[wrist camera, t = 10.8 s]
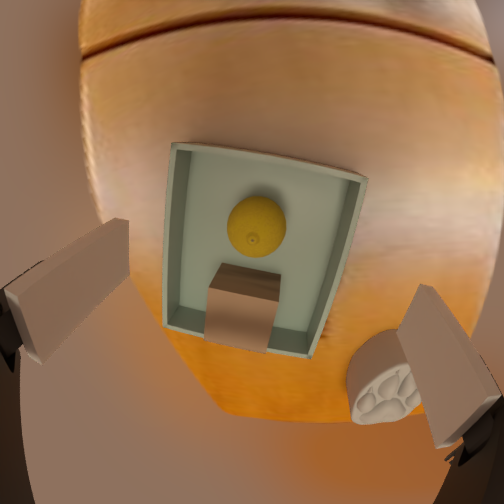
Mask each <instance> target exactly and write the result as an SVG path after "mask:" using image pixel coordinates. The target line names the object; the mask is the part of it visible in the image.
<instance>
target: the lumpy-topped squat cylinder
mask: <svg viewBox="0 0 504 504" xmlns="http://www.w3.org/2000/svg"><path fill="white" fill-rule="evenodd" d="M396 332H397V330H396V329H391V330H386V331H383V332H381V333H379V334H377V335H375V336H374V337H372V338H370V339H369V340H368V341H367V342H365V343H364V344H363V345H362V346H361V347H360V348H359V349H358V350H357V351H356V353H355V354H354V355H353V357H352V359H351V361H350V364H349V367H348V371H347V377H346V386H347V393H348V399H349V406H350V413H351V419H352V421H353V422H355V423H357V424H375V423H380V422H394V421H397V420H399V419H401V418H403V417H405V416H406V415H408V414H409V413H410V412H411V411H412V410H413V409H414V408H415V407H416V406H418V405H419V404H420V403H421V402H422V400H421V397H420V394H419V391H418V389H417V386H416V383H415V380H414V377H413V374H412V372H411V369H410V366H409V364H408V361H407V358H406V356H405V353H404V351H403V348H402V346H401V343H400V341H399V338H398V336H397V334H396Z"/></svg>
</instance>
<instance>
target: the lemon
mask: <svg viewBox="0 0 504 504" xmlns="http://www.w3.org/2000/svg"><path fill="white" fill-rule="evenodd" d="M286 229H287V227H286V218H285V215H284V212H283V211H282V209H281V208H280V206H279V205H278V204H277V203H275V202H274V201H273V200H271V199H269V198H266V197H262V196H252V197H248V198H246V199H244V200H242V201H240V202H239V203H238V204H237V205H236V206H235V207H234V208H233V209H232V211H231V213H230V215H229V218H228V221H227V234H228V238H229V241H230V242H231V244H232V246H233V247H234V248H235V249H236V250H237V251H238V252H239V253H241V254H242V255H245V256H247V257H252V258H260V257H264V256H267V255H269V254H271V253H272V252H274V251H275V250H276V249H277V248H278V247H279V246H280V245H281V243H282V241H283V239H284V237H285V234H286Z"/></svg>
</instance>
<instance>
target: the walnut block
mask: <svg viewBox="0 0 504 504" xmlns="http://www.w3.org/2000/svg"><path fill="white" fill-rule="evenodd" d="M280 284H281V274H276V273H271V272H266V271H261V270H256V269H251V268H246V267H242V266H237V265H232V264H227V263H221V265H220V267H219V269H218V271H217V272H216V274H215V276H214V278H213V280H212V281H211V283H210V285H209V287H208V296H207V306H206V317H205V329H204V340H205V341H209V342H213V343H217V344H222V345H226V346H230V347H235V348H240V349H244V350H249V351H254V352H259V353H264V354H266V350H267V346H268V342H269V339H270V335H271V331H272V327H273V323H274V320H275V316H276V312H277V308H278V304H279V296H280Z"/></svg>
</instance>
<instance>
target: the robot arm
mask: <svg viewBox="0 0 504 504" xmlns="http://www.w3.org/2000/svg"><path fill="white" fill-rule="evenodd" d="M129 275H130V271H129V220H124V219H119V218H114V219H112V220H110V221H108V222H106V223H105V224H103V225H101V226H99V227H98V228H96V229H94V230H92V231H91V232H89V233H87V234H85V235H84V236H82V237H80V238H79V239H77V240H75V241H74V242H72V243H70V244H69V245H67V246H66V247H64V248H62V249H61V250H59V251H58V252H56V253H54V254H53V255H52V256H50V257H48V258H47V259H45V260H43V261H40V262H38V263H37V264H35V265H34V266H33V267H31V269H28V270H27V271H25V272H24V273H23V274H21V275H19V276H18V277H17V278H15V279H14V280H12V281H11V282H10V283H8V284H7V285H6V286H4V287H3V288H2V289H0V504H35V501H34V498H33V494H32V490H31V485H30V481H29V476H28V471H27V466H26V460H25V454H24V447H23V438H22V428H21V415H20V359H21V356H20V351H19V349H18V348H19V347H20V346H21V345H22V344H23V345H24V347H25V350H26V352H27V354H28V356H29V357H30V358H32V359H33V360H35V361H37V362H38V363H40V364H41V365H43V364H44V363H45V362H46V361H47V360H48V359H49V358H50V357H51V355H52V354H53V353H54V352H55V351H56V350H57V349H58V348H59V346H60V345H61V344H62V343H63V342H64V341H65V340H66V339H67V338H68V337H69V336H70V335H71V333H72V332H73V331H74V330H75V329H76V328H77V327H78V326H79V325H80V324H81V323H82V322H83V321H84V320H85V319H86V318H87V317H88V316H89V315H90V314H91V312H92V311H93V310H94V309H95V308H96V307H97V306H98V305H99V304H100V303H101V302H102V301H103V300H104V299H105V298H106V297H107V296H108V295H109V294H110V293H111V292H112V291H113V290H114V289H115V288H116V287H117V286H119V285H120V284H121V283H122V282H123V281H124V280H125V279H126V278H127V277H128V276H129ZM396 334H397V336H398V338H399V341H400V343H401V346H402V348H403V351H404V353H405V356H406V358H407V361H408V364H409V366H410V369H411V372H412V374H413V377H414V380H415V383H416V386H417V389H418V391H419V394H420V397H421V400H422V403H423V406H424V410H425V413H426V416H427V419H428V423H429V426H430V429H431V433H432V436H433V440H434V444H435V448H436V449H437V448H442V447H448V446H451V445H453V444H454V443H455V442H456V441H457V440H458V439H459V438H460V437H463V440H464V442H463V443H462V444H461V445H460V446H459V447H458V448H456V449H455V450H454V451H453V452H452V453H450V454H449V455H448V456H447V457H446V458H445V461H447V460H449V459H450V458H451V457H452V456H455V457H454V459H453V460H452V461H450V462H449V463H450V464H451V467H450V469H449V472H448V474H447V476H446V478H445V481H444V483H443V485H442V487H441V489H440V491H439V493H438V495H437V497H436V499H435V501H434V503H433V504H504V397H503V395H502V393H501V391H500V389H499V387H498V385H497V383H496V382H495V380H494V378H493V376H492V374H490V371H489V369H488V367H486V364H485V362H484V361H483V359H482V357H481V356H480V355H479V353H478V352H477V350H476V349H475V347H474V345H473V344H472V342H471V341H470V339H469V337H468V336H467V334H466V333H465V331H464V330H463V328H462V327H461V325H460V324H459V322H458V321H457V320H456V318H455V317H454V315H453V314H452V312H451V311H450V310H449V308H448V307H447V305H446V304H445V303H444V301H443V300H442V299H441V297H440V296H439V294H438V293H437V292H436V290H435V289H434V288H433V287H432V286H427V285H423V284H420V285H419V287H418V289H417V292H416V294H415V296H414V298H413V300H412V302H411V304H410V306H409V308H408V310H407V312H406V314H405V316H404V318H403V320H402V322H401V324H400V326H399V328H398V330H397V332H396Z"/></svg>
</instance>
